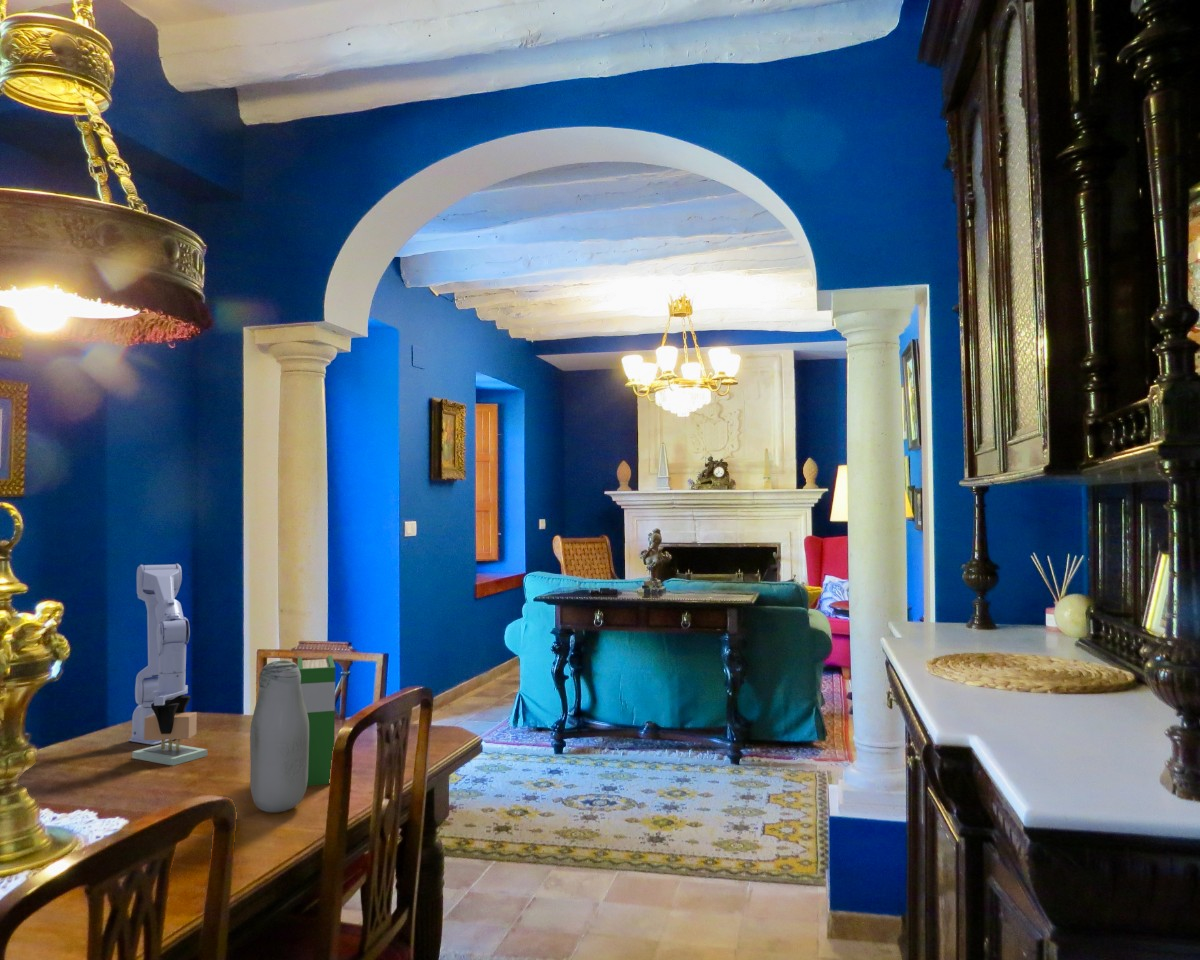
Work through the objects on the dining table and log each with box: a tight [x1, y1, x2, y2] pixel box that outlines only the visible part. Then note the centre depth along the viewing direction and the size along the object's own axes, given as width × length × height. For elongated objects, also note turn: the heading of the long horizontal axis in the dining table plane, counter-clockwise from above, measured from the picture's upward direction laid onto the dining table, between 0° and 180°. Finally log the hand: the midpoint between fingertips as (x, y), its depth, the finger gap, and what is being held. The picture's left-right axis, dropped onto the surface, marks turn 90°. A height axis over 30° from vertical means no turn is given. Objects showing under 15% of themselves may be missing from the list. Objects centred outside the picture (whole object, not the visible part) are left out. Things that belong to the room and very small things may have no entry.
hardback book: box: [297, 655, 336, 787], centre depth 186 cm, size 18×7×24 cm, turn 20°
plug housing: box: [144, 711, 198, 740], centre depth 199 cm, size 10×5×5 cm, turn 96°
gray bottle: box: [249, 660, 309, 814], centre depth 162 cm, size 10×10×28 cm
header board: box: [131, 739, 208, 766], centre depth 199 cm, size 14×9×4 cm, turn 64°
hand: (170, 730), depth 199 cm, fingers closed on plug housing, 5 cm apart
